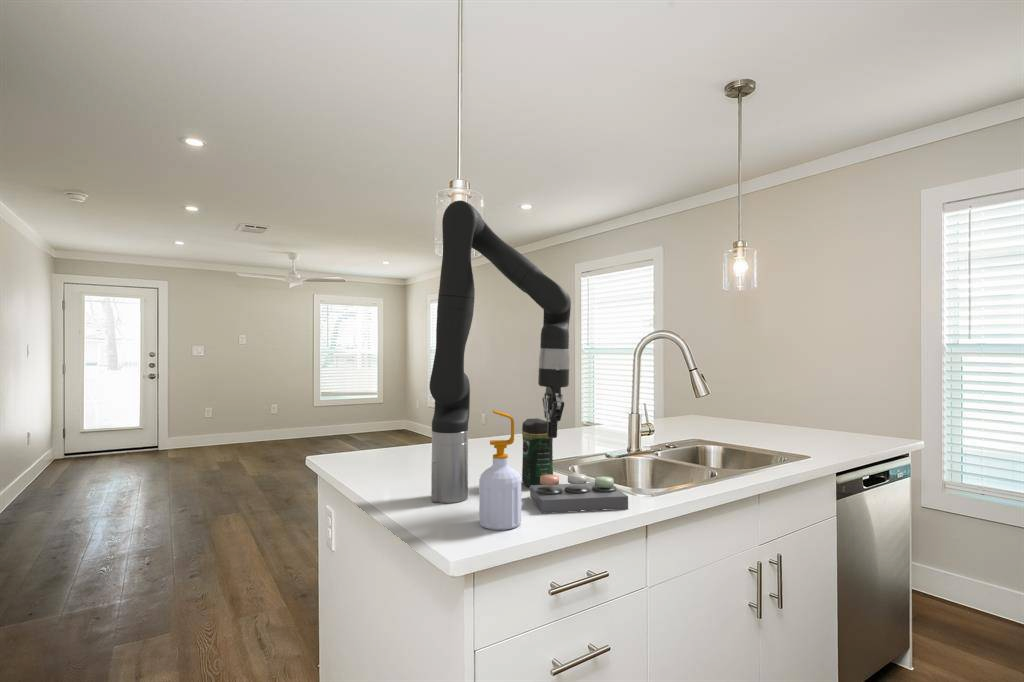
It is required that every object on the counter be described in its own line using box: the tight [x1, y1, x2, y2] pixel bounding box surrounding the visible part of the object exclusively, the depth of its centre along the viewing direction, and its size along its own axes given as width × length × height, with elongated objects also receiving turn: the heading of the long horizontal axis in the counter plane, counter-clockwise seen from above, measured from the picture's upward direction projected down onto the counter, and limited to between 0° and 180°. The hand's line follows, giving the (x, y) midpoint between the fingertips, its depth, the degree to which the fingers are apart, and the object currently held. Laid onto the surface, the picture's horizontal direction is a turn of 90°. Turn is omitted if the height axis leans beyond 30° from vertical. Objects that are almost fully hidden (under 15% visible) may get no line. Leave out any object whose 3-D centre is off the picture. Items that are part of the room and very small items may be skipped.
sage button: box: [594, 476, 615, 487], centre depth 131 cm, size 5×5×2 cm
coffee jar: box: [521, 417, 554, 488], centre depth 148 cm, size 10×8×19 cm
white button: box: [567, 473, 588, 484], centre depth 130 cm, size 5×5×2 cm
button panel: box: [529, 482, 629, 514], centre depth 130 cm, size 21×14×4 cm, turn 99°
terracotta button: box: [540, 474, 560, 486], centre depth 129 cm, size 5×5×2 cm
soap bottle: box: [478, 409, 522, 531], centre depth 114 cm, size 9×9×25 cm
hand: (551, 437), depth 130 cm, fingers closed
